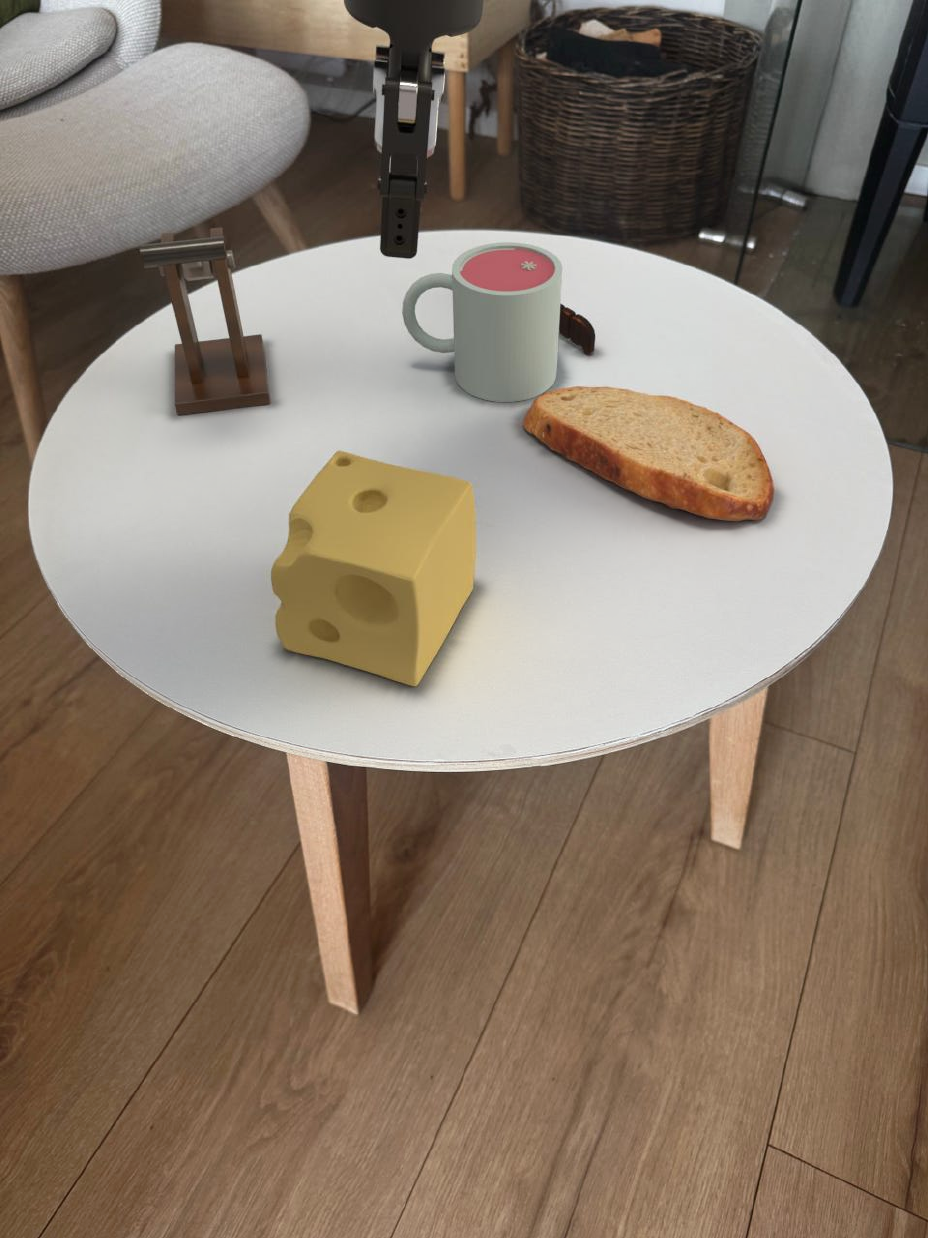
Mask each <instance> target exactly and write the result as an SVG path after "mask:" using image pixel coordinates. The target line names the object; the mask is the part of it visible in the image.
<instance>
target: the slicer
mask: <svg viewBox="0 0 928 1238" xmlns="http://www.w3.org/2000/svg"><path fill="white" fill-rule="evenodd" d="M209 231H210V238H213V237H222V236H223V237H224V239H225V233H224V228H223V227H212V228H210V229H209ZM225 240H226V239H225ZM174 241H176V239H175V234H174V232H165V233H161V235H160V243H165V242H174ZM225 244H226V245H227V243H226V242H225ZM226 250H227V257H228V258H227V259H223V260H214V261H212V262H213V267H214V270H215V275H216V280H217V286H218V290H219V294H220V299H221V304H222V309H223V314H224V319H225V324H226V327H227V334H228V337H226V338H218V339H217V338H216V339H210V340H200V341H199V337H198V333H197V328H196V324H195V319H194V316H193V311H192V307H191V303H190V298H189V294H188V289H187V285H186V280H185V279H184V275H183V269H182V264H176V265H167V266H158V270H159V273H160V276H161V277H165V280H166V285H167V289H168V294H169V298H170V302H171V307H172V310H173V314H174V318H175V322H176V326H177V331H178V333H179V338H180V343H176V344H175V343H174V407H175V411H176V415H177V416H183V415H192V414H200V413H207V412H216V411H224V410H230V409H231V410H232V409H238V408H239V409H240V408H248V407H255V406H263V405H270V404H271V396H270V389H269V380H268V372H267V364H266V363H267V362H266V356H265V354H266V353H265V347H264V340H263V336H262V334H260V333H259V334H252V335H244V331H243V326H242V320H241V316H240V310H239V304H238V299H237V296H236V289H235V285H234V280H233V274H232V270H231V269H235V268H236V264H235V259H234V253H233V250H232V249H231V250H230V249H229V250H228V249H227V247H226Z"/></svg>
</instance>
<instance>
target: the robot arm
mask: <svg viewBox="0 0 928 1238" xmlns="http://www.w3.org/2000/svg"><path fill="white" fill-rule="evenodd" d="M343 5H344V7H345V9H346V12H347V13H348V15H350V16H351V17H352V18H353V19H354V20H356V22H359V23H360V24H362V25H364V26H366V27H369V28H371V29H375V28H377V29H379V30H381V31H383V32H385V33H386V34H387V35H388V38H389V45H383V44H376V45H375V58H374V59H373V73H372V75H373V76H372V92H373V95H374V97H375V99H376V100H375V101H376V103H375V119H374V120H375V121H374V122H375V123H374V147H375V149H376V150H377V151H378V152H379V153H380V154H381V162H380V176H379V177H378V179H377V187H376V188H377V191H379V198H382V199H381V217H380V219H381V220H380V239H379V240H380V241H379V250H380V253H381V254H382V255H383V257H388V258H395V259H405V260H406V259H408V260H410V259H413V258H415V257H416V255H417V253H418V243H419V231H420V219H421V218H420V217H421V206H422V205H421V204H422V202H424V201H425V195H427V194H428V181H426V176H427V164H428V162H427V161H428V158H430V157H431V156H432V155H433V154H434V153H435V150H436V143H437V130H438V116H439V105H440V104H441V103H442V101H443V97H444V91H445V78H446V77H445V74H446V67H445V56H446V52H445V51H437V50H433V44H434V42H435V40H436V39H438V38H441V37H445V36H448V37H450V38H453V37H458V36H462V35H465V34H468V33H470V32H471V31H473V30H474V29H476V27H477V26H479V24H480V22H481V20H482V18H483V12H484V11H483V10H484V0H343Z"/></svg>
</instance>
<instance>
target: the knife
mask: <svg viewBox="0 0 928 1238" xmlns="http://www.w3.org/2000/svg"><path fill="white" fill-rule="evenodd" d="M559 335H561V336H562V337H563V338H565V339H566V340H570V341H571V342H572V343H573V344H575V345H577V346H579V347H580V348H581V349H582V350H583V352H584V354H585V356H588V355H591V354H593V353H594V352H595V346H596V332H595V329H594V326H593V324H592V323H591V322H590V321H589V319H587V318H586V317H584V316H582V315H581V314H580V313H576V311H574V310H573V309H571V308H569V307H566V306H565V305H564V304H562V303H561V302H560V318H559Z"/></svg>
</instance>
